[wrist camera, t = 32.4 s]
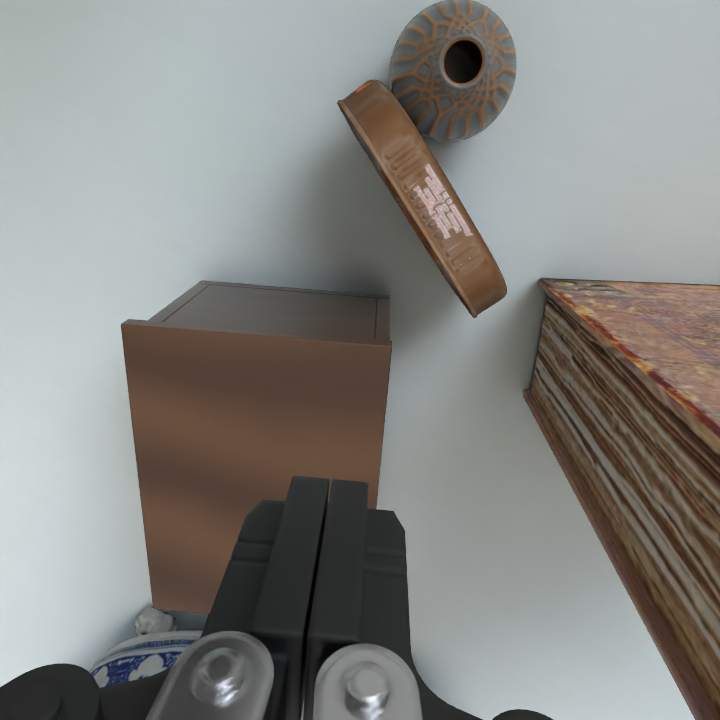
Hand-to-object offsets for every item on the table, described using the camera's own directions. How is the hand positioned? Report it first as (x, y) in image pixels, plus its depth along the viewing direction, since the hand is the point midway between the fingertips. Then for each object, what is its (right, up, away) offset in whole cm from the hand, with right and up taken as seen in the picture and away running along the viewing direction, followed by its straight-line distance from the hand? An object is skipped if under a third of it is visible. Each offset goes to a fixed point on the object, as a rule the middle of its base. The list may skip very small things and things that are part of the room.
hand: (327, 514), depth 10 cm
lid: (-5, -4, +20) cm, 21 cm away
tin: (+5, +14, +25) cm, 29 cm away
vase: (+6, +20, +22) cm, 31 cm away
